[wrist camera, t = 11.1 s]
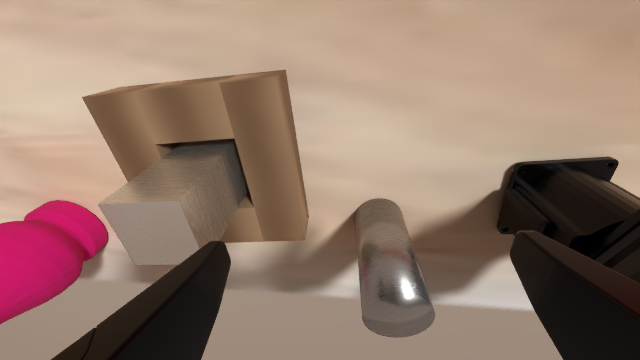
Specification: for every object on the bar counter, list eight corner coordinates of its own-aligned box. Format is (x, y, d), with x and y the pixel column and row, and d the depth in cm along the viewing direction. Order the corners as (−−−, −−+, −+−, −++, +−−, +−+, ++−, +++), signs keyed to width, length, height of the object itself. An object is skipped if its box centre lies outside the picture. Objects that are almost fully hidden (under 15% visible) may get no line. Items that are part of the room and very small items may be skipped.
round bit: (403, 197, 21) (439, 294, 14) (400, 234, 23) (430, 337, 16) (353, 199, 22) (361, 294, 14) (355, 236, 24) (363, 337, 16)
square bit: (243, 132, 19) (178, 201, 12) (254, 178, 21) (206, 264, 14) (192, 135, 20) (97, 204, 12) (208, 180, 22) (135, 265, 14)
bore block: (285, 69, 17) (275, 77, 14) (308, 216, 23) (304, 240, 20) (118, 87, 18) (82, 97, 16) (181, 221, 24) (162, 244, 22)
